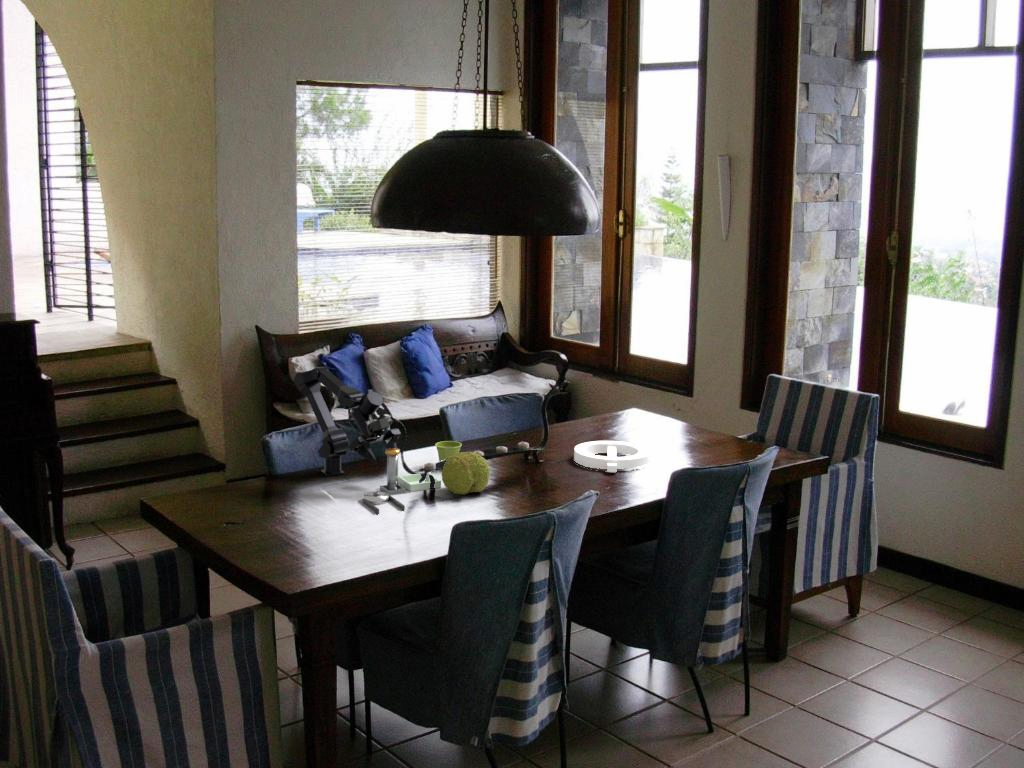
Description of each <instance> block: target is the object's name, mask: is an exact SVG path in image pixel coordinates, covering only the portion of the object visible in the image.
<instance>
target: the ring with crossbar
mask: <svg viewBox="0 0 1024 768" xmlns="http://www.w3.org/2000/svg"><path fill="white" fill-rule="evenodd" d="M598 453H607V455H595V454H598ZM617 453H625V454H630V455H632V456H618V455H617ZM650 458H651V451H650V449H649V448H647V447H646V446H644V445H642V444H638V443H634V442H627V441H620V440H594V441H593V440H592V441H586V442H582V443H578V444H577V445H575V446H574V451H573V461H575V462H576V463H578V464H580V465H583V466H585V467H590V468H597V469H599V468H600V469H607V471H606V473H616V472H617V469H624V468H633V467H637V466H642V465H644V464H647V463H648V462H649V461H650V460H651V459H650ZM575 462H574V463H575ZM650 462H651V461H650ZM576 463H575V464H576ZM578 464H577V465H578ZM585 467H584V468H585ZM617 473H618V472H617Z"/></svg>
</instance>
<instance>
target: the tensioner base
mask: <svg viewBox="0 0 1024 768" xmlns="http://www.w3.org/2000/svg"><path fill="white" fill-rule="evenodd" d="M375 490H376V492H384V493H387V494H389V495H390V496H391V497H392V496H396V495H398V496H399V495H403V494H411V492H410V491H409V490H407V489H406V488H404V487H403V486H401V485H400V484H398V489H395V490H387V484H385V485H379V488H375Z"/></svg>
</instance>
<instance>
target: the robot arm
mask: <svg viewBox="0 0 1024 768" xmlns="http://www.w3.org/2000/svg"><path fill="white" fill-rule="evenodd" d="M293 379H294V380H293V382H294V384H295V386H296V388H297V389H298V392H300V393H301V394H303V396H305V397H306V398H307V400H308V403H309V405H310V408H311V409H312V411H313V414H314V416H315V419H316V420H317V422H318V426H319V427H320V430H321V431H322V437H321V443H322V445H321V447H319V449H318V450H317V452H318V456H319V457H320V458H323V459H324V469H321V472H322V474H324V475H325V476H327V477H328V476H337V475H345V471H343V470H342V456H346V455H347V453H348V449H349V450H350V452H351V453H354V454H356V455H357V454H358V455H360V456H361V457H364V458H365V459H367V460H368V461H369V462H371V463H373V464H374V465H377V463H378V461H377V458H376V456H375V455H374V453H373V450H372V448H371V444H373V443H379V442H382V443H383V444H384V445H385V449H388V448H398V445H397V441H398V439H399V438H400V436H401V435H402V433H401V431H400V429H399V428H391V429H390V427H391V426H392V425H393V420H392V418H391V417H390V416H389V415H386V416H384V417H382V418H380V419H374V418H373V416H372V415H374V414H375V413H376V412H377V410H378V409H379V408H380V407H381V406H382V405H383V402H384V398H383V396H382V395H381V394H380V393H377V392H376V391H374V390H373V389H372V388H371V389H367V390H366V391H365V392H364V393H363V392H362V391H360V390H359V389H357V388H355V387H353V386H348V385H346V383H344V382H343V381H342V380H340V379H339V378H338V377H337V376H336V375H334V374H333V373H332V372H331V371H330V370H329V368H328V367H326V366H319V367H318V366H317V367H314V368H313V369H311V370H305V371H297V373H296V374H295V375H294V378H293ZM322 385H323V386H324V387H326V388H327V389H328V390H329V391H330V392H331V393H332V394H333V395H335V396H336V397H337V402H338V403H339V404H340V405H341V407H342V408H343V409H344V410H351V409H353V410H352V411H349V415H348V421H352V420H354V423H355V424H356V426H357V428H358V429H357V433H358V434H361V435H356V436H354V437H353V439H352V440H351V441H350V442H349V437H348V436H347V434H346V431H345V429H344V428H343V427H342V428H339V427H337V426H336V424H335V421H334V419H333V417H332V414H331V413H330V411H329V408H328V406H327V404H326V401H325V400H324V397H323V395H322V392H321V386H322ZM388 428H389V429H388ZM385 429H387V431H386V432H385ZM384 432H385V434H384Z"/></svg>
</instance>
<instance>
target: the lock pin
mask: <svg viewBox="0 0 1024 768" xmlns="http://www.w3.org/2000/svg"><path fill="white" fill-rule="evenodd" d="M384 453H385V454H386V456H387V457H386V464H387V465H386V472H387V473H386V485H387V490H395V489H398V476H399V454H401V449H400V448H398V447H397V448H388V449H387V448H385V450H384Z"/></svg>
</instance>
